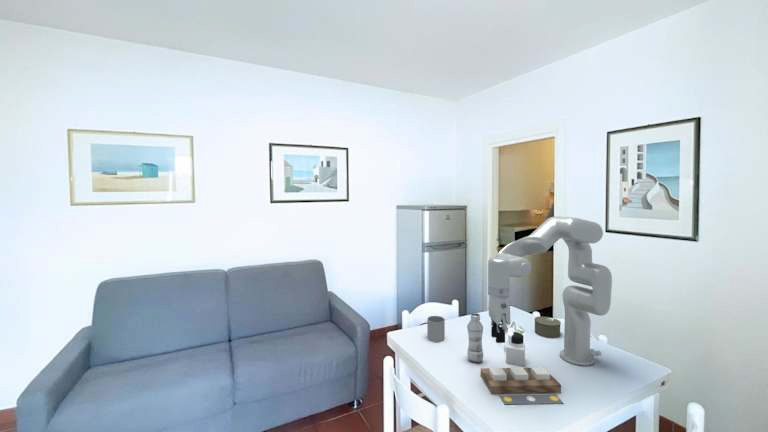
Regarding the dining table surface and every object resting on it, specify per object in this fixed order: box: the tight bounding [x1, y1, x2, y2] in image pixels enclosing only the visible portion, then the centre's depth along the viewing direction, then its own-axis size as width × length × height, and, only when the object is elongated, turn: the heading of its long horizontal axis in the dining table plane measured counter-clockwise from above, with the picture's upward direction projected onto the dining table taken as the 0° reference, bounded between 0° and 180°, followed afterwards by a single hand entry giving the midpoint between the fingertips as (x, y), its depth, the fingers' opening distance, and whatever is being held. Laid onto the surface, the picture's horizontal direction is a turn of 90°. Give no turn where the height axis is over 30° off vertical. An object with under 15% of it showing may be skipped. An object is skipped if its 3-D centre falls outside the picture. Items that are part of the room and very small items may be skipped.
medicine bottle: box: [505, 331, 526, 367], centre depth 136 cm, size 7×7×12 cm
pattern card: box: [498, 393, 564, 406], centre depth 110 cm, size 20×5×1 cm, turn 91°
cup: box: [426, 315, 446, 343], centre depth 159 cm, size 8×8×10 cm
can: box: [534, 316, 562, 339], centre depth 164 cm, size 12×12×7 cm
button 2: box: [530, 366, 551, 380], centre depth 120 cm, size 5×5×3 cm
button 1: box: [489, 367, 507, 381], centre depth 119 cm, size 5×5×3 cm
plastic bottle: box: [466, 312, 484, 363], centre depth 137 cm, size 6×7×20 cm
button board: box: [480, 367, 562, 395], centre depth 120 cm, size 25×12×3 cm, turn 91°
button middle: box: [509, 367, 528, 380], centre depth 119 cm, size 5×5×3 cm
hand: (498, 339), depth 119 cm, fingers open, 3 cm apart
